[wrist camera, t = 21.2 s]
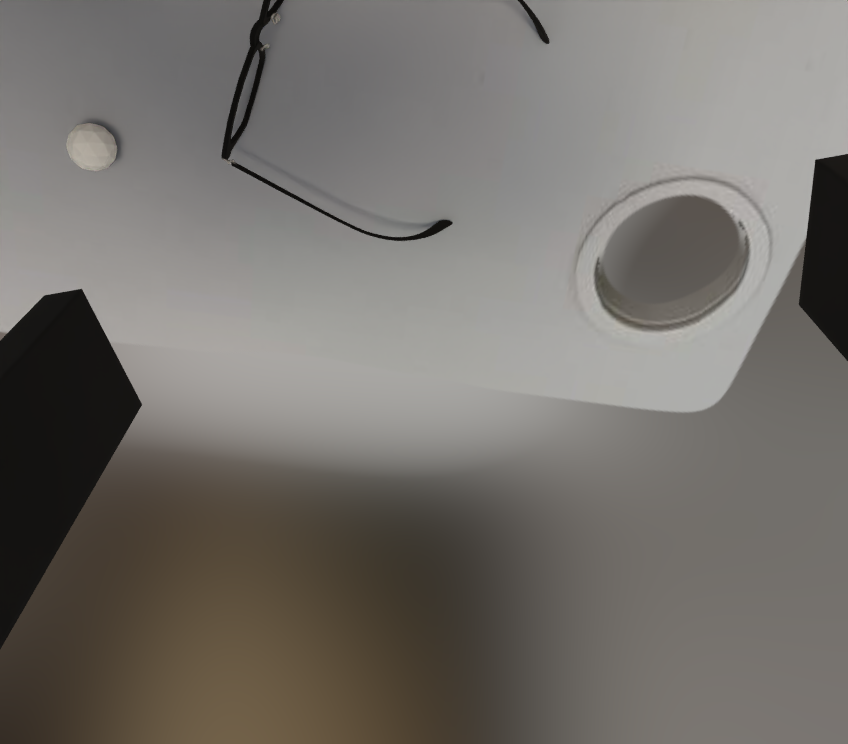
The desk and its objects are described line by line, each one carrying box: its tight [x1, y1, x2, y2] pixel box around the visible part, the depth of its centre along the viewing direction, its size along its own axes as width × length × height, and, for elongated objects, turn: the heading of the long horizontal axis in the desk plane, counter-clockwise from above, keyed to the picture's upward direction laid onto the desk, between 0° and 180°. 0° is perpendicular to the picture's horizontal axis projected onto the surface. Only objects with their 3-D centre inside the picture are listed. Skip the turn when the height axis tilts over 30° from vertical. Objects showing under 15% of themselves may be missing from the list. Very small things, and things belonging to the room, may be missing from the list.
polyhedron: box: [66, 123, 117, 171], centre depth 45 cm, size 3×3×3 cm
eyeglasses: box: [222, 0, 549, 241], centre depth 42 cm, size 16×16×4 cm
